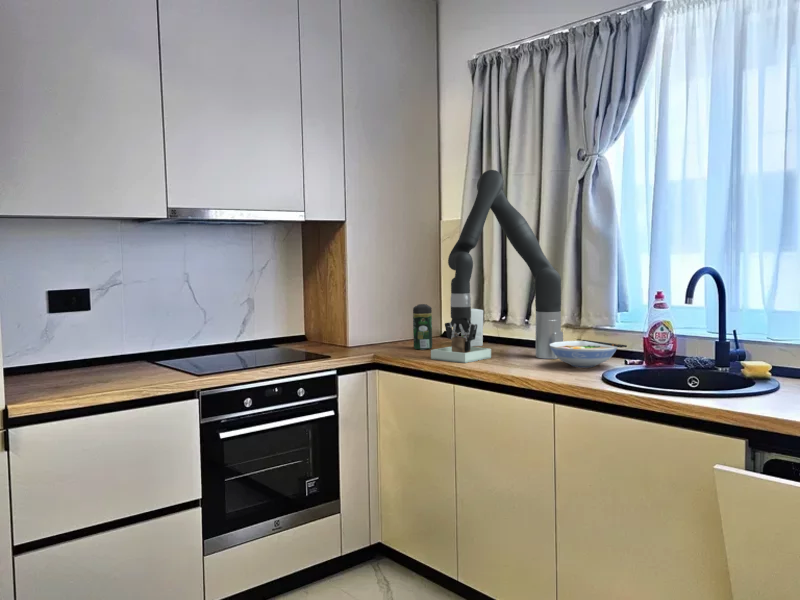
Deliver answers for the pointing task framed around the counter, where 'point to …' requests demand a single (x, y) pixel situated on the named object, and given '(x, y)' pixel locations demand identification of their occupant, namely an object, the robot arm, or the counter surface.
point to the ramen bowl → (584, 352)
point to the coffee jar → (422, 327)
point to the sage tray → (460, 354)
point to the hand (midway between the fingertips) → (461, 350)
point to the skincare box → (477, 319)
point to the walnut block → (459, 344)
